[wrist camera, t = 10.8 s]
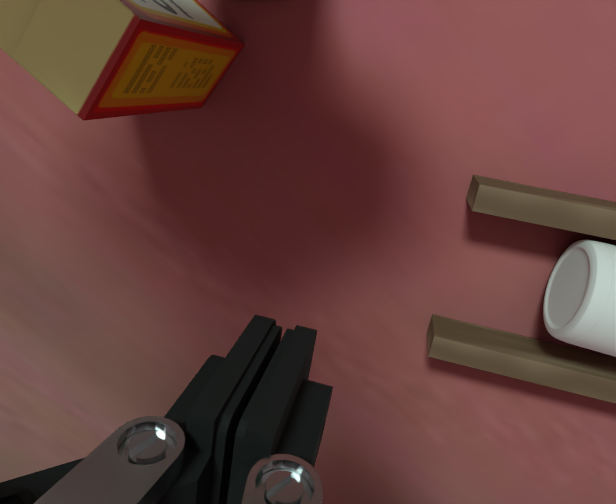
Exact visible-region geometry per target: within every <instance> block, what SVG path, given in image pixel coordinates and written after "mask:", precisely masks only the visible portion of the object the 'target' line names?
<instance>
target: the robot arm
mask: <svg viewBox="0 0 616 504" xmlns="http://www.w3.org/2000/svg"><path fill="white" fill-rule="evenodd" d="M281 334H282V327H280V326H276V320H274V319H270V318H266V317H262V316H258V315H255V316H254V317H253V318H252V320H251V321H250V323H249V324H248V326H247V327H246V329H245V330H244V331H243V333H242V334H241V336H240V337H239V339H238V340H237V342H236V343H235V345H234V346H233V347H232V349H231V350H230V352H229V353H228V355H227V356H226V358H224V357H220V356H216V355H211V356H210V357H209V358H208V359H207V361H206V362H205V363H204V365H203V366H202V367H201V369H200V370H199V371H198V373H197V374H196V375H195V377H194V378H193V379H192V381H191V382H190V383H189V385H188V386H187V387H186V389H185V390H184V391H183V393H182V394H181V395H180V397H179V398H178V399H177V401H176V402H175V403H174V405H173V406H172V407H171V409H170V410H169V411H168V413H167V414H166V415H165V417H164V418H163V417H158V416H147V417H141V418H137V419H134V420H132V421H129V422H127V423H125V424H124V425H122V426H121V427H119V428H118V429H117V430H116V431H115V432H114V433H112V434H111V435H110V436H109V437H108V438H107V439H106V440H105V441H103V442H102V443H101V444H100V445H99V446H98V447H97V448H96V449H94V450H93V451H92V452H91V453H90V454H89V455H88V456H87V457H85V458H82V459H79V460H76V461H72V462H69V463H65V464H62V465H59V466H55V467H52V468H49V469H45V470H42V471H39V472H35V473H32V474H28V475H25V476H22V477H18V478H15V479H12V480H8V481H5V482H2V483H0V504H322V493H323V489H322V482H321V479H320V477H319V475H318V473H317V471H316V470H315V469H314V465H315V461H316V458H317V454H318V450H319V446H320V442H321V438H322V434H323V430H324V426H325V421H326V417H327V412H328V408H329V403H330V399H331V394H332V389H333V387H332V386H328V385H324V384H321V383H317V382H313V381H309V380H308V377H309V372H310V367H311V361H312V356H313V351H314V345H315V340H316V334H317V330H314V329H310V328H306V327H302V326H298V325H296V327H295V329H294V330H292V329H287V330H286V332H285V334H284V336H283V338H282V340H281ZM280 340H281V342H280Z"/></svg>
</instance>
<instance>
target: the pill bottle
mask: <svg viewBox="0 0 616 504" xmlns="http://www.w3.org/2000/svg"><path fill="white" fill-rule="evenodd" d="M543 317H544V323H545V327H546V329H547V331H548V332H549V333H550V334H551V335H552V336H553V337H554V338H556V339H558V340H561V341H564V342H566V343H569V344H573V345H576V346H580V347H583V348H587V349H590V350H594V351H597V352H601V353H604V354H608V355H611V356H614V357H616V246H615V245H611V244H607V243H603V242H600V241H594V240H580V241H577V242H575V243H573V244H572V245H570V246H569V247H568V248H567V249H566V250H565V251H564V253H563V254H562V255H561V257H560V258H559V260H558V261H557V263H556V265H555V267H554V269H553V271H552V273H551V275H550V278H549V281H548V284H547V287H546V291H545V296H544V304H543Z"/></svg>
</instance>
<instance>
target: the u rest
mask: <svg viewBox="0 0 616 504" xmlns="http://www.w3.org/2000/svg"><path fill="white" fill-rule="evenodd" d="M466 199H467V201H468V203H469V206H470V208H471V210H472V211H475V212H480V213H485V214H490V215H495V216H500V217H505V218H509V219H514V220H519V221H524V222H529V223H534V224H539V225H544V226H549V227H554V228H559V229H564V230H568V231H573V232H578V233H583V234H588V235H593V236H598V237H603V238H608V239H613V240H616V202H612V201H606V200H601V199H596V198H591V197H586V196H580V195H575V194H570V193H565V192H560V191H554V190H549V189H544V188H539V187H534V186H528V185H523V184H518V183H513V182H508V181H502V180H497V179H492V178H487V177H482V176H476V175H473V177H472V181H471V184H470V188H469V191H468V194H467V198H466ZM427 344H428V357H432V358H436V359H440V360H444V361H448V362H452V363H456V364H460V365H464V366H468V367H472V368H476V369H480V370H484V371H488V372H492V373H496V374H500V375H504V376H508V377H512V378H516V379H520V380H524V381H528V382H532V383H536V384H540V385H544V386H548V387H552V388H556V389H560V390H564V391H568V392H572V393H576V394H580V395H584V396H588V397H592V398H596V399H600V400H604V401H608V402H612V403H616V358H614V357H610V356H605V355H601V354H597V353H593V352H588V351H584V350H580V349H576V348H572V347H567V346H563V345H559V344H555V343H551V342H546V341H542V340H538V339H534V338H530V337H525V336H521V335H517V334H513V333H508V332H504V331H500V330H496V329H492V328H487V327H483V326H479V325H475V324H471V323H466V322H462V321H458V320H454V319H450V318H445V317H441V316H437V315H433V314H432V317H431V321H430V324H429V328H428V331H427Z"/></svg>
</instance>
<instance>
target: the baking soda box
mask: <svg viewBox="0 0 616 504" xmlns="http://www.w3.org/2000/svg"><path fill="white" fill-rule="evenodd" d="M244 45H245V44H244V43H243V42H242V41H241V40H240V39H238V38H237V37H236V36H235V35H234V34H233V33H232V32H231V31H230V30H229V29H228V28H227V27H225V26H224V25H223V24H222V23H221V22H220V21H219V20H218V19H217V18H216V17H215V16H213V15H212V14H211V13H210V12H209V11H208V10H207V9H206V8H205V7H204V6H203V5H201V4H200V3H199V2H198V1H197V0H0V48H1V49H2V50H3V51H5V52H6V53H7V54H8V55H9V56H10V57H11V58H13V59H14V60H15V61H16V62H17V63H18V64H19V65H21V66H22V67H23V68H24V69H25V70H26V71H27V72H29V73H30V74H31V75H32V76H33V77H34V78H35V79H37V80H38V81H39V82H40V83H41V84H42V85H43V86H45V87H46V88H47V89H48V90H49V91H50V92H51V93H53V94H54V95H55V96H56V97H57V98H58V99H59V100H61V101H62V102H63V103H64V104H65V105H66V106H67V107H69V108H70V109H71V110H72V111H73V112H74V113H75V114H77V115H78V116H79V117H80V118H81V119H82V120H92V119H101V118H110V117H120V116H129V115H138V114H148V113H157V112H166V111H176V110H185V109H194V108H202V106H203V105H204V103H205V102H206V101H207V99H208V98H209V96H210V95H211V93H212V92H213V90H214V89H215V87H216V86H217V84H218V83H219V82H220V80H221V79H222V77H223V76H224V74H225V73H226V71H227V70H228V68H229V67H230V65H231V64H232V63H233V61H234V60H235V58H236V57H237V55H238V54H239V52H240V51H241V49H242V48H243V46H244Z"/></svg>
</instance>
